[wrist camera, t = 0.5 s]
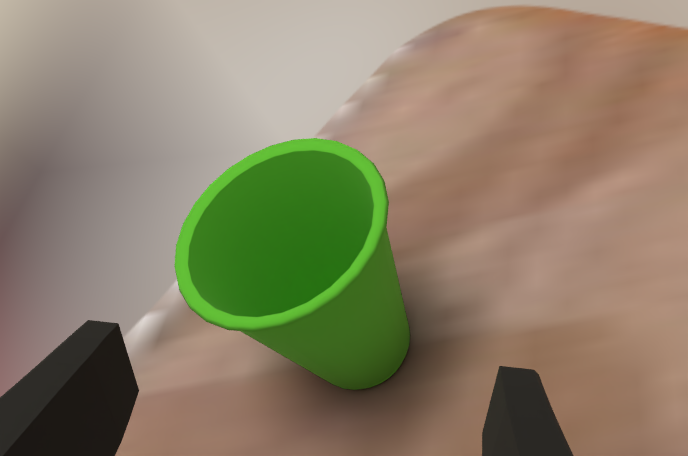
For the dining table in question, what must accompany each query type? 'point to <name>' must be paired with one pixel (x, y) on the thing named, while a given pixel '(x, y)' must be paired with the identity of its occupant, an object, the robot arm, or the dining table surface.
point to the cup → (300, 260)
